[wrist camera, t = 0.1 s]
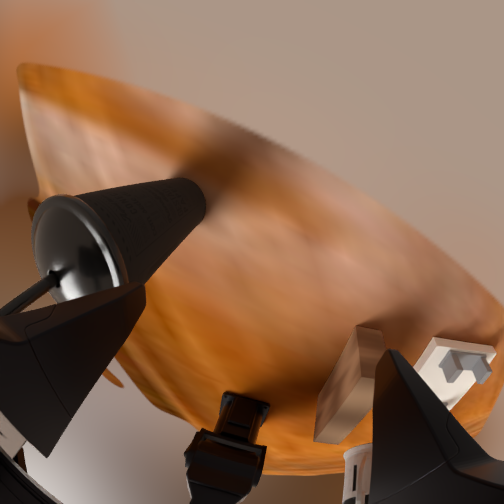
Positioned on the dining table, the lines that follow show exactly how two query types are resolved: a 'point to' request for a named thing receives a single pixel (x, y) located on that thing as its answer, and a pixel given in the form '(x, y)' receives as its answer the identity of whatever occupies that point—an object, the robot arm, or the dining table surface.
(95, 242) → the drinking cup
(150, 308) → the dining table surface
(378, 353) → the door
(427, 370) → the side panel
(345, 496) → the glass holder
